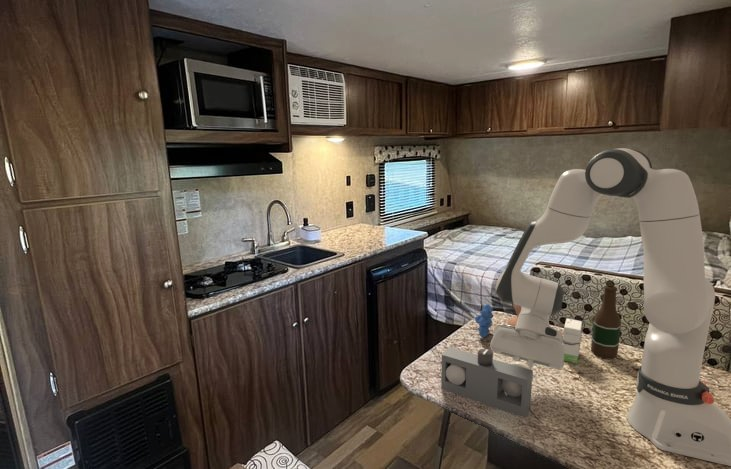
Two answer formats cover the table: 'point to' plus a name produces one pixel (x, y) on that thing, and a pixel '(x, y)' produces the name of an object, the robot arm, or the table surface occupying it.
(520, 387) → the cream knob
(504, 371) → the mount
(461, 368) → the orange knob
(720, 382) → the table surface
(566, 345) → the ink box
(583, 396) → the table surface
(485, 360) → the pot dial
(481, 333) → the grapes
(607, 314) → the beer bottle
